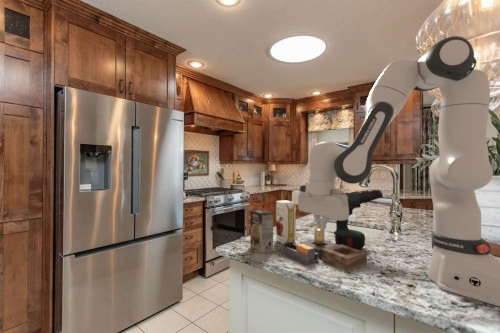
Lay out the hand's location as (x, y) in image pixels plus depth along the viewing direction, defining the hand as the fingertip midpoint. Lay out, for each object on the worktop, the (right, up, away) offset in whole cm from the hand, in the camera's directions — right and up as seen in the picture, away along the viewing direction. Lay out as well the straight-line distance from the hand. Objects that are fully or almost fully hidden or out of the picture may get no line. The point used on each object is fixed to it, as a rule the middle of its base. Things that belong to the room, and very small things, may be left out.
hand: (321, 228), depth 84 cm
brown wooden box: (+10, -14, +5) cm, 18 cm away
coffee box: (-20, -14, +20) cm, 31 cm away
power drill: (+20, -14, +20) cm, 31 cm away
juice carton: (-8, -14, +29) cm, 34 cm away
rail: (-6, -14, +10) cm, 18 cm away
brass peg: (+4, -14, +17) cm, 22 cm away
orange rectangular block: (-4, -13, +7) cm, 15 cm away
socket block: (+4, -14, +17) cm, 22 cm away
